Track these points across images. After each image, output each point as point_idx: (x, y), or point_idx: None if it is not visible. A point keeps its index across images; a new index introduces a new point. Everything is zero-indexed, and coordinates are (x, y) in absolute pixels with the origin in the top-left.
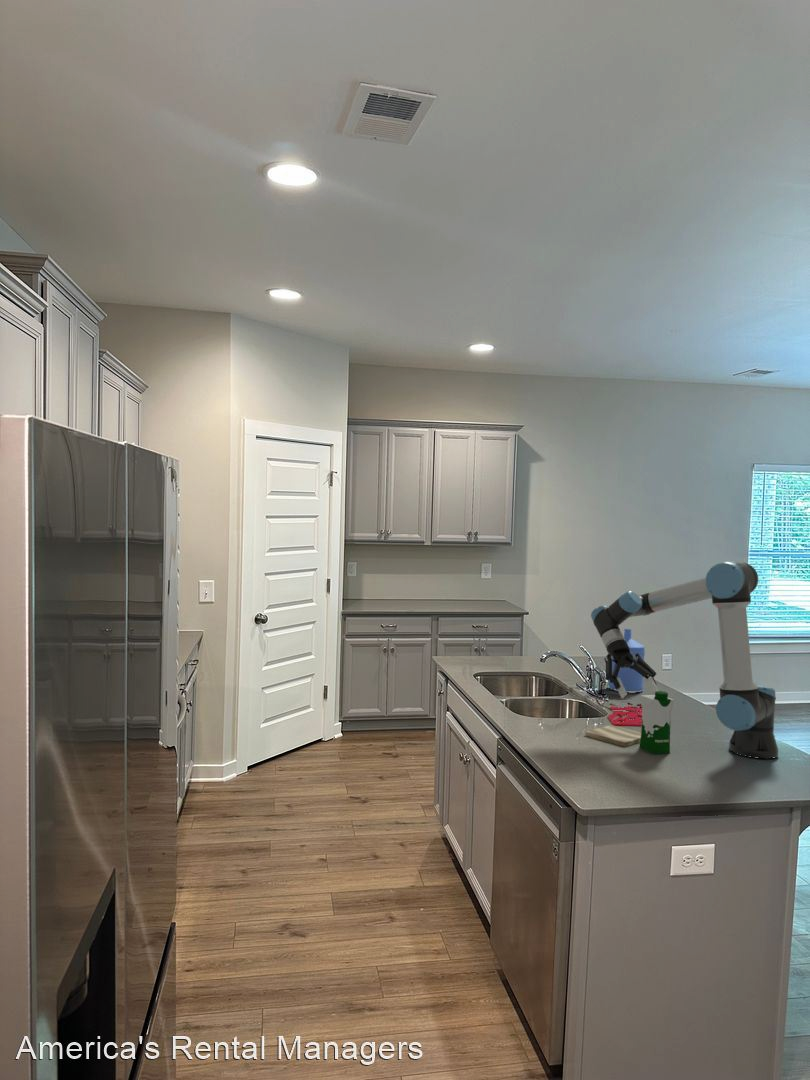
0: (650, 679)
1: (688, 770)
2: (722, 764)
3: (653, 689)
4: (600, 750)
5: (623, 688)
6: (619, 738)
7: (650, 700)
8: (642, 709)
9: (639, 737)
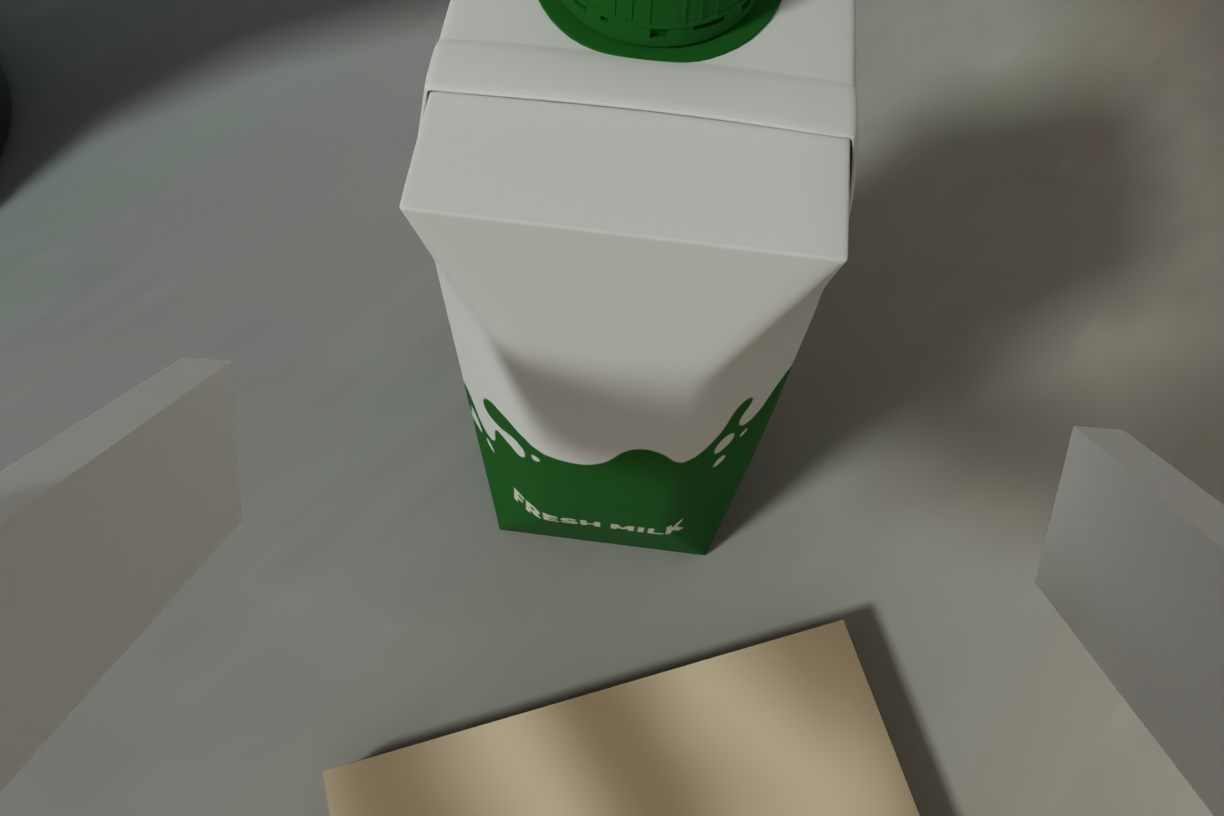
0: (10, 554)
1: None
2: (362, 46)
3: (176, 494)
4: None
5: (1180, 489)
6: (809, 775)
7: (855, 32)
8: (813, 306)
9: (536, 731)
